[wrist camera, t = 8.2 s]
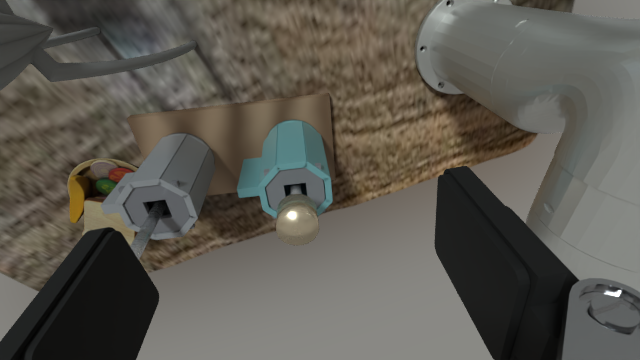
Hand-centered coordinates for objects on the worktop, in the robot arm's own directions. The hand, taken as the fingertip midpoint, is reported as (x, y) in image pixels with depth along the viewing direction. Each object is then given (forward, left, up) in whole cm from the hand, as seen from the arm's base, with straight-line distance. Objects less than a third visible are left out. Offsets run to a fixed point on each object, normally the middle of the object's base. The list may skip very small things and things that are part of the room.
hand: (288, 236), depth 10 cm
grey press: (+17, +14, -34) cm, 41 cm away
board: (+8, +14, -35) cm, 39 cm away
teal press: (+2, +14, -34) cm, 37 cm away
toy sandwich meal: (+28, +19, -36) cm, 49 cm away
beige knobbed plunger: (+1, +14, -33) cm, 35 cm away
